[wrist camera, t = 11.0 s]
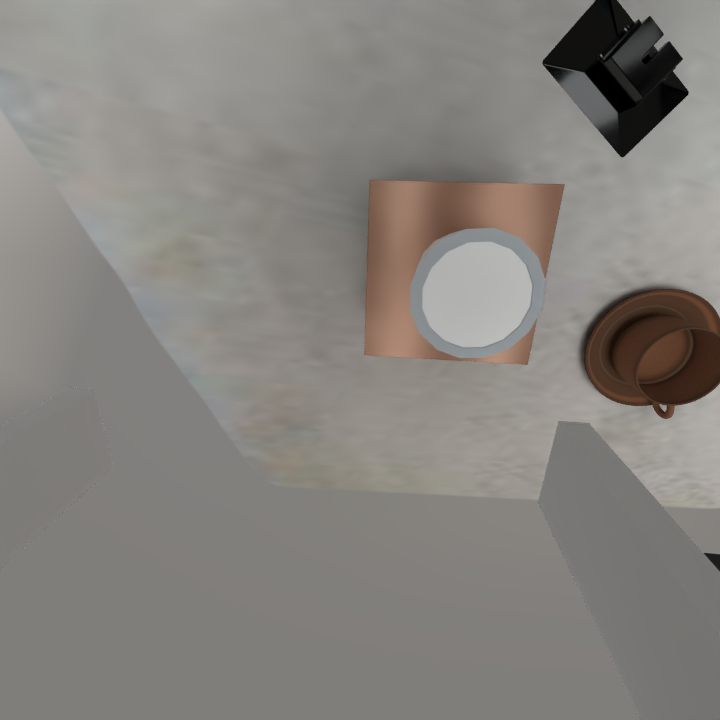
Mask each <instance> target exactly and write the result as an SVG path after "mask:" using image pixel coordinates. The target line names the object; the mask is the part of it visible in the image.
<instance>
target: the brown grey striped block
mask: <svg viewBox="0 0 720 720" xmlns="http://www.w3.org/2000/svg"><path fill="white" fill-rule="evenodd" d="M564 185H565V184H523V183H477V182H432V181H386V180H370V191H369V223H368V254H367V285H366V317H365V348H364V355H370V356H387V357H405V358H422V359H439V360H456V361H473V362H490V363H508V364H525V365H528V360H529V355H530V350H531V346H532V341H533V336H534V331H535V326H536V321H537V319H536V321H535V323H534V324H533V326H532V328H531V330H530V331H529V332H528V333H527V334H526V335H525V336H524V337H522V338H521V339H520V340H519V341H518V342H517V343H515V344H514V345H513V346H512V347H511V348H509V349H507V350H505V351H502V352H499V353H497V354H494V355H491V356H489V357H486V358H458V357H455V356H453V355H450V354H447V353H444V352H442V351H439V350H437V349H436V348H435V347H434V346H433V345H431V344H430V343H429V342H428V341H427V340H426V339H425V338H424V337H423V336H422V335H421V334H420V333H419V331H418V328H417V326H416V324H415V321H414V319H413V317H412V314H411V312H410V286H411V283H412V280H413V277H414V274H415V272H416V269H417V266H418V264H419V261H420V259H421V257H422V254H423V253H424V252H425V250H426V249H427V248H428V247H429V246H430V245H431V244H432V243H433V242H434V241H435V240H437V239H440V238H442V237H444V236H446V235H448V234H450V233H454V232H457V231H461V230H465V229H478V228H497V229H499V230H502V231H504V232H507V233H509V234H512V235H514V236H517V237H520V238H521V239H522V240H523V241H524V242H525V243H526V245H527V246H528V247H529V248H530V249H531V250H532V251H533V252H534V253H535V254H536V255H537V256H538V258H539V261H540V264H541V268H542V271H543V274H544V277H546V272H547V268H548V263H549V258H550V253H551V248H552V243H553V238H554V233H555V229H556V224H557V219H558V214H559V209H560V204H561V199H562V194H563V190H564Z"/></svg>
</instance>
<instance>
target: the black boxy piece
mask: <svg viewBox="0 0 720 720" xmlns="http://www.w3.org/2000/svg"><path fill="white" fill-rule="evenodd" d="M663 35H664V34H663V32H662V31H661V30H660V28H659V27H658V26H657V24H656V23H655V22H654V20H653V19H652V18H651V17H650V16H649V17H648V18H646V19H645V20H644V21H642V22H640V20H639V19H638V20H637V21H636V22H634V21H633V20H632V19H631V18H630V16H629V15H628V14H627V13H626V11H625V10H624V9H623V7H622V6H621V5H620V4H619V2H618V1H617V0H596V1H595V2H594V3H593V4H592V5H591V7H590V8H589V9H588V10H587V11H586V12H585V13H584V15H583V16H582V17H581V18H580V19H579V20H578V21H577V23H576V24H575V25H574V26H573V27H572V28H571V29H570V30H569V32H568V33H567V34H566V35H565V36H564V37H563V38H562V40H561V41H560V42H559V43H558V44H557V45H556V46H555V48H554V49H553V50H552V51H551V52H550V53H549V54H548V56H547V57H546V58H545V59H544V60H543V65H544V66H545V68H546V69H547V70H548V71H549V72H550V74H551V75H552V76H553V77H554V78H555V79H556V81H557V82H558V83H559V84H560V85H561V87H562V88H563V89H564V90H565V91H566V92H567V94H568V95H569V96H570V97H571V98H572V100H573V101H574V102H575V103H576V104H577V106H578V107H579V108H580V109H581V110H582V111H583V113H584V114H585V115H586V116H587V117H588V119H589V120H590V121H591V122H592V123H593V124H594V126H595V127H596V128H597V129H598V130H599V132H600V133H601V134H602V135H603V136H604V138H605V139H606V140H607V141H608V142H609V143H610V145H611V146H612V147H613V148H614V149H615V151H616V152H617V153H618V154H619V155H620V156H621V157H624V156H625V155H626V154H627V153H628V152H629V151H630V150H631V149H633V148H634V147H635V146H636V145H637V144H638V143H639V142H640V141H641V140H642V139H643V138H644V137H645V136H646V135H647V134H648V133H649V132H650V131H651V130H652V129H653V128H654V127H655V126H656V125H657V124H658V123H659V122H660V121H661V120H662V119H663V118H665V117H666V116H667V115H668V114H669V113H670V112H671V111H672V110H673V109H674V108H675V107H676V106H677V105H678V104H679V103H680V102H681V101H682V100H683V99H684V98H685V97H686V96H687V95H688V93H689V92H688V90H687V89H686V88H685V86H684V85H683V84H682V82H681V81H680V80H679V79H678V77H677V76H676V75H675V74H674V72H673V70H674V69H675V68H676V66H677V65H678V64H679V63H680V62H681V61H682V60H683V58H682V57H681V56H680V54H679V53H678V52H677V50H676V49H675V48H674V47H673V45H672V44H671V43H670V41H669V42H667V43H665V44H664V45H663V46H662V47H661V48H660V49H659V50H658V51H657V49H656V48H655V47H654V46H653V45H654V44H655V43H656V42H657V41H658V40H659V39H660V38H661V37H662V36H663Z"/></svg>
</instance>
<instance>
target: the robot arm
mask: <svg viewBox="0 0 720 720" xmlns="http://www.w3.org/2000/svg"><path fill="white" fill-rule="evenodd" d="M113 467H114V464H113V460H112V456H111V452H110V448H109V445H108V441H107V437H106V433H105V429H104V425H103V421H102V418H101V414H100V410H99V406H98V402H97V398H96V395H95V391H94V389H87V388H73V387H69V388H67V389H66V390H64V391H62V392H60V393H58V394H56V395H54V396H53V397H51V398H49V399H47V400H45V401H44V402H42V403H40V404H38V405H36V406H34V407H32V408H31V409H29V410H27V411H25V412H23V413H22V414H20V415H18V416H16V417H14V418H12V419H10V420H8V421H7V422H5V423H3V424H1V425H0V570H1V569H2V568H3V567H4V566H5V565H6V564H7V563H8V562H9V561H11V560H12V559H13V558H14V557H15V556H16V555H17V554H18V553H19V552H21V551H22V550H23V549H24V548H25V547H26V546H27V545H28V544H29V543H31V542H32V541H33V540H34V539H35V538H36V537H37V536H38V535H39V534H40V533H41V532H43V531H44V530H45V529H46V528H47V527H48V526H49V525H50V524H51V523H53V522H54V521H55V520H56V519H57V518H58V517H59V516H60V515H61V514H63V513H64V511H66V510H67V509H68V508H69V507H70V506H71V505H72V504H74V503H75V502H76V501H77V500H78V499H79V498H80V497H81V496H82V495H83V494H85V493H86V492H87V491H88V490H89V489H90V488H91V487H92V486H93V485H94V484H96V482H98V481H99V480H100V479H101V478H102V477H103V476H104V475H106V474H107V473H108V472H109V471H110V470H111V469H112V468H113ZM538 504H539V506H540V508H541V510H542V512H543V515H544V516H545V519H546V521H547V523H548V525H549V527H550V529H551V532H552V534H553V536H554V538H555V540H556V542H557V544H558V546H559V548H560V551H561V553H562V555H563V557H564V559H565V561H566V563H567V565H568V568H569V570H570V572H571V574H572V576H573V578H574V580H575V582H576V585H577V587H578V589H579V591H580V593H581V595H582V597H583V599H584V602H585V604H586V606H587V608H588V610H589V612H590V614H591V616H592V619H593V621H594V622H595V625H596V627H597V629H598V631H599V633H600V636H601V637H602V640H603V642H604V644H605V646H606V648H607V650H608V653H609V654H610V657H611V659H612V661H613V663H614V665H615V667H616V669H617V672H618V674H619V676H620V678H621V680H622V682H623V684H624V686H625V689H626V690H627V693H628V695H629V697H630V699H631V701H632V703H633V706H634V708H635V710H636V712H637V714H638V716H639V718H640V720H720V554H709V553H703V552H702V551H701V550H700V549H699V548H698V546H696V544H695V543H694V542H693V541H692V540H691V538H690V537H689V536H688V535H687V534H686V533H685V532H684V531H683V529H682V528H681V527H680V526H679V525H678V524H677V523H676V522H675V520H674V519H673V518H672V517H671V516H670V515H669V514H668V512H667V511H666V510H665V509H664V508H663V507H662V506H661V504H660V503H659V502H658V501H657V500H656V499H655V498H654V497H653V495H652V494H651V493H650V492H649V491H648V490H647V489H646V487H645V486H644V485H643V484H642V483H641V482H640V481H639V480H638V478H637V477H636V476H635V475H634V474H633V473H632V472H631V470H630V469H629V468H628V467H627V466H626V465H625V464H624V463H623V461H622V460H621V459H620V458H619V457H618V456H617V455H616V453H615V452H614V451H613V450H612V449H611V448H610V447H609V446H608V444H607V443H606V442H605V441H604V440H603V439H602V438H601V436H600V435H599V434H598V433H597V432H596V431H595V430H594V429H593V427H592V426H591V425H590V424H589V423H579V422H564V421H559V422H558V426H557V430H556V434H555V438H554V442H553V446H552V450H551V454H550V458H549V462H548V465H547V469H546V473H545V477H544V481H543V485H542V489H541V493H540V497H539V501H538Z"/></svg>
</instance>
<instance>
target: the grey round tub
mask: <svg viewBox="0 0 720 720" xmlns="http://www.w3.org/2000/svg"><path fill="white" fill-rule="evenodd" d="M545 286H546V281H545V277H544V274H543V271H542V268H541V264H540V261H539V258H538V256H537V255H536V254H535V253H534V252H533V251H532V250H531V249H530V248H529V247H528V246H527V245H526V243H525V242H524V241H523V240H522V239H521V238H520V237H517V236H514V235H512V234H509V233H507V232H504V231H502V230H499V229H497V228H478V229H465V230H461V231H457V232H454V233H450V234H448V235H446V236H444V237H442V238H440V239H437V240H435V241H434V242H433V243H432V244H431V245H430V246H429V247H428V248H427V249H426V250H425V252H424V253H423V254H422V257H421V259H420V261H419V264H418V266H417V269H416V272H415V274H414V277H413V280H412V283H411V286H410V312H411V314H412V317H413V319H414V321H415V324H416V326H417V328H418V331H419V333H420V334H421V335H422V336H423V337H424V338H425V339H426V340H427V341H428V342H429V343H430V344H431V345H433V346H434V347H435V348H436V349H437V350H439V351H442V352H444V353H447V354H450V355H453V356H455V357H458V358H486V357H489V356H491V355H494V354H497V353H499V352H502V351H505V350H507V349H509V348H511V347H512V346H513V345H514V344H515V343H517V342H518V341H519V340H520V339H521V338H522V337H524V336H525V335H526V334H527V333H528V332H529V331H530V330H531V328H532V326H533V324H534V323H535V321H536V319H537V317H538V316H539V314H540V312H541V310H542V308H543V301H544V293H545Z"/></svg>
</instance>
